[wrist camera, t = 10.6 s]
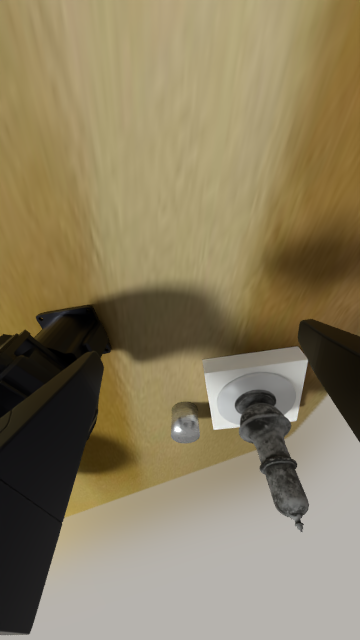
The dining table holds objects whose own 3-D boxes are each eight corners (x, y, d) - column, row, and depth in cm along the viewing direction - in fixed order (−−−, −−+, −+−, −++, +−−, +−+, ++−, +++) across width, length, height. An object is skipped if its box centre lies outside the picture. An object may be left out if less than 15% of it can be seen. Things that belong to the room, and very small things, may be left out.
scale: (211, 417, 34) (214, 436, 31) (202, 359, 27) (204, 377, 24) (288, 408, 32) (298, 427, 30) (298, 346, 26) (311, 363, 23)
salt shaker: (265, 419, 29) (313, 544, 19) (225, 413, 28) (252, 540, 18) (286, 391, 26) (357, 522, 16) (242, 384, 25) (286, 516, 15)
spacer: (174, 419, 34) (174, 444, 30) (169, 403, 32) (168, 428, 28) (199, 416, 33) (201, 441, 30) (195, 400, 31) (197, 425, 28)
